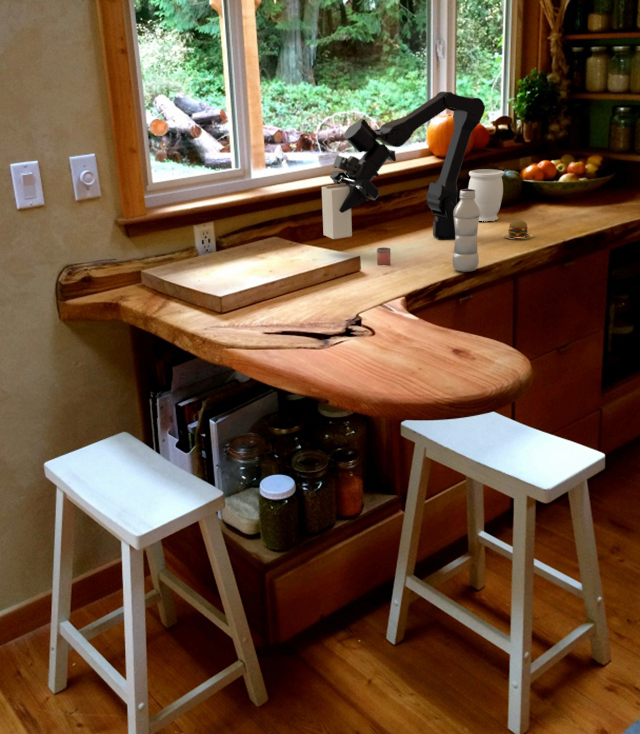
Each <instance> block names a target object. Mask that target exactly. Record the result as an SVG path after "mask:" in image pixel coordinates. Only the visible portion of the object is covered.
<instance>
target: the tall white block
mask: <svg viewBox="0 0 640 734" xmlns="http://www.w3.org/2000/svg"><path fill="white" fill-rule="evenodd" d="M349 193H350V187H346V184H345V183H344V184H336V185H334V184H330V185H325V186H321V202H322V204H321V206H322V227H323V228H322V229H323V230H322V231H323V236H326V237H328V238H330V239H332V240H338V239H343V238H351V237H352V236H353V232H352V231H353V228H352V226H353V224H352V208H351V209H349V210H347V211H345V212H343V213H341V212H340V211H339V209H340V208H341V206H342V204H343V202H344V201H345V199H346V198H347V196H348V194H349Z"/></svg>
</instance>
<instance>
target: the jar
mask: <svg viewBox="0 0 640 734" xmlns="http://www.w3.org/2000/svg"><path fill="white" fill-rule="evenodd" d="M504 173H505V171H503V170H499V169H492V168H491V169H489V168H488V169H487V168H486V169H485V168H482V169H474V170H470V171H469V172H468V175H469V177H470V179H469V182H468V187H467V189H474V190H475V198H474V201H475V202H476V204H477V205H478V207H479V210H480V216H479V221H482V222H481V223H486V222H485V221H493V222H496V221H495V220H497V219H498V220H499V217H498V215H497V214H498V213H499V212H500V208H501V204H502V200H503V195H504V183H503V178H502V177H503V176H504ZM498 220H497V221H498ZM483 221H484V222H483Z"/></svg>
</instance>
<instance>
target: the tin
mask: <svg viewBox="0 0 640 734" xmlns="http://www.w3.org/2000/svg"><path fill="white" fill-rule="evenodd" d="M376 262H377V263H376V264H377V266H379V265H388V266H391V248H390V247H378V248H376Z"/></svg>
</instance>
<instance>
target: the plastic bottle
mask: <svg viewBox="0 0 640 734" xmlns="http://www.w3.org/2000/svg"><path fill="white" fill-rule="evenodd" d="M458 197H459V201H458V202H457V203H458V204H457V205H456V207H455V208H454V212H453V215H454V224H455V239H454V246H453V247H454V248H453V254H452V258H451V259H452V260H451V263H452V267H453V269H454V270H455V271H458V272H465V273H468V272H469V273H470V272H474V271H476V269H478V267H479V264H480V263H479V262H480V261H479V253H478V229H479V228H478V227H479V223H480V222H479V216H480V210H479V207H478V205H477V204H476V202H475V201H474V198H475V190H474V189H468V188H464V189H460V190H459V196H458Z"/></svg>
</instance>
